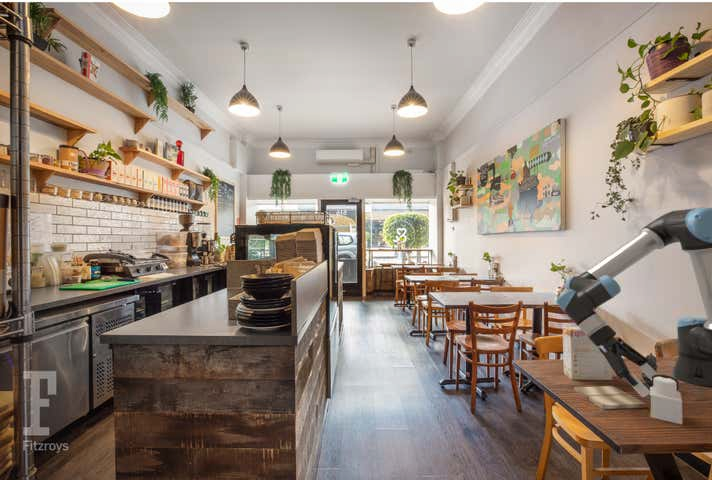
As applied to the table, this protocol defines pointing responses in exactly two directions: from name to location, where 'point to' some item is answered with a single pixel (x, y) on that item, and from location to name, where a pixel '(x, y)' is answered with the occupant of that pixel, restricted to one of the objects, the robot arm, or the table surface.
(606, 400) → the maple board
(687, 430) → the table surface
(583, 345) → the coffeecake box
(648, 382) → the grey chess piece
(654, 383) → the medicine bottle
